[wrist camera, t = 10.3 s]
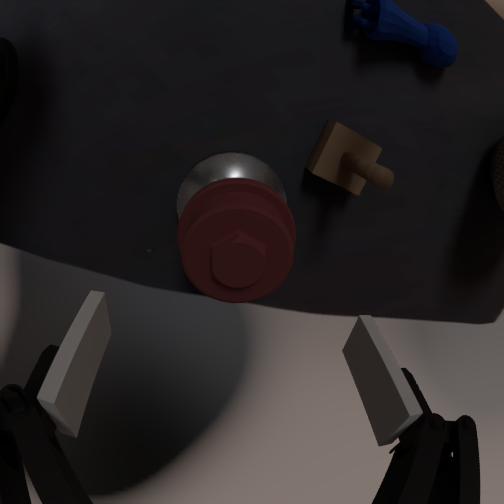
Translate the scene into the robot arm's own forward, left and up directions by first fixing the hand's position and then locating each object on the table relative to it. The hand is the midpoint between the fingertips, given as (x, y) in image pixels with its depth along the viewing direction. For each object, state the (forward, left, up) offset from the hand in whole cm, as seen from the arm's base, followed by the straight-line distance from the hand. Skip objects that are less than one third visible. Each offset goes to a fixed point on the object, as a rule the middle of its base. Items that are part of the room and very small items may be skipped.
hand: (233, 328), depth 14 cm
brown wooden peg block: (+6, +12, -21) cm, 25 cm away
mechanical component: (+1, 0, -20) cm, 20 cm away
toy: (+3, +30, -21) cm, 37 cm away
